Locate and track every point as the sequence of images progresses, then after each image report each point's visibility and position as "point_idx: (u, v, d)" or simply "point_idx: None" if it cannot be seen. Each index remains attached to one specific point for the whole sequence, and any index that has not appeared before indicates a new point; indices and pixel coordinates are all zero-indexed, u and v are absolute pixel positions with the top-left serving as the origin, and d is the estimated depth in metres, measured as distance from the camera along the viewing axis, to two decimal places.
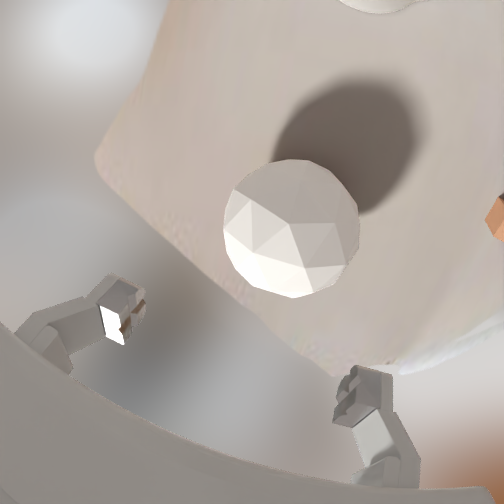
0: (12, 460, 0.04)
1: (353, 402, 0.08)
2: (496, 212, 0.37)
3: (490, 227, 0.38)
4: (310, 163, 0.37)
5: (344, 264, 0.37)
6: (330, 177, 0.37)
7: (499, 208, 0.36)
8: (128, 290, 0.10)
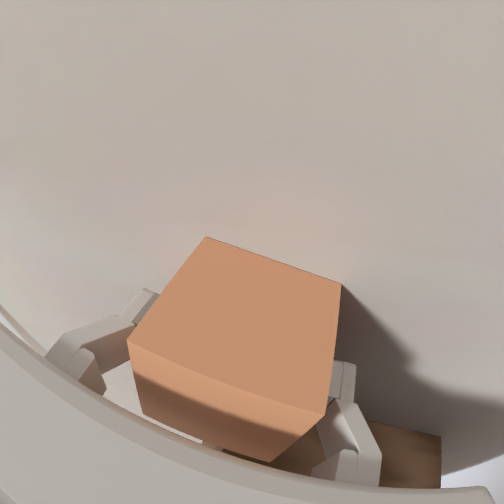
0: (12, 460, 0.04)
1: None
2: (270, 304, 0.09)
3: (174, 291, 0.08)
4: None
5: None
6: None
7: (298, 321, 0.08)
8: None
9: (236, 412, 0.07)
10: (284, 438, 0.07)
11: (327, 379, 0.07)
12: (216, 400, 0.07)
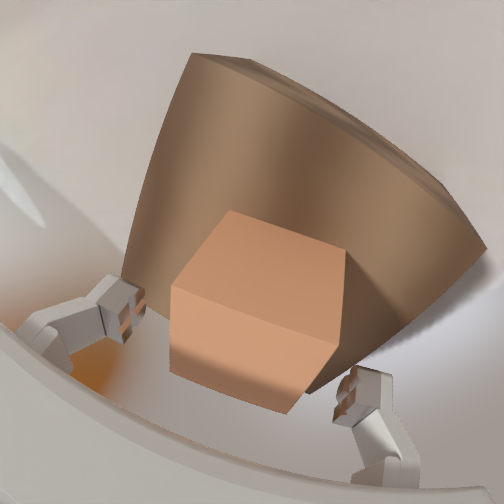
0: (12, 459, 0.04)
1: (353, 402, 0.08)
2: (288, 261, 0.11)
3: (208, 249, 0.10)
4: None
5: None
6: None
7: (311, 275, 0.10)
8: (128, 290, 0.10)
9: (262, 351, 0.09)
10: (302, 379, 0.09)
11: (338, 319, 0.09)
12: (246, 339, 0.09)
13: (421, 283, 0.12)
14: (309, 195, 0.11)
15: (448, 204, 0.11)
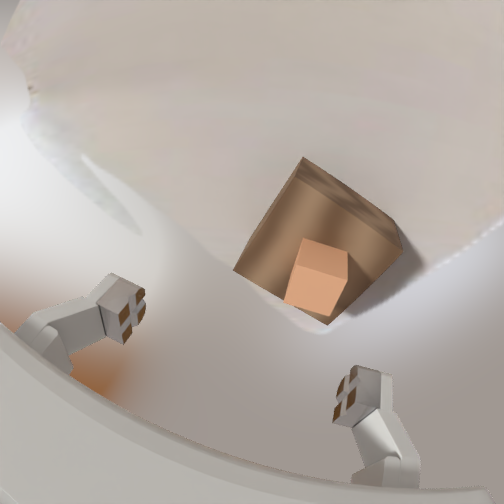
0: (12, 459, 0.04)
1: (353, 402, 0.08)
2: (328, 256, 0.30)
3: (302, 253, 0.30)
4: None
5: None
6: None
7: (336, 260, 0.30)
8: (128, 290, 0.10)
9: (323, 285, 0.28)
10: (336, 295, 0.29)
11: (346, 273, 0.28)
12: (318, 281, 0.28)
13: (376, 265, 0.31)
14: (333, 231, 0.31)
15: (387, 234, 0.31)
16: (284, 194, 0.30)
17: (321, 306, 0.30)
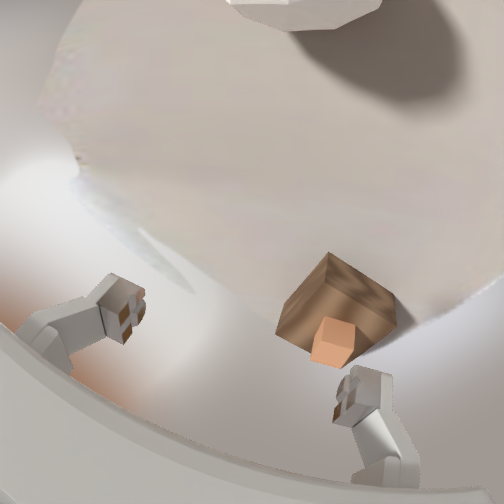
0: (12, 459, 0.04)
1: (353, 402, 0.08)
2: (341, 331, 0.42)
3: (324, 330, 0.42)
4: None
5: (289, 2, 0.18)
6: None
7: (347, 334, 0.42)
8: (128, 290, 0.10)
9: (338, 352, 0.40)
10: (345, 357, 0.41)
11: (353, 344, 0.40)
12: (334, 349, 0.40)
13: (377, 334, 0.43)
14: (348, 315, 0.43)
15: (386, 313, 0.43)
16: (316, 292, 0.42)
17: (335, 363, 0.42)
